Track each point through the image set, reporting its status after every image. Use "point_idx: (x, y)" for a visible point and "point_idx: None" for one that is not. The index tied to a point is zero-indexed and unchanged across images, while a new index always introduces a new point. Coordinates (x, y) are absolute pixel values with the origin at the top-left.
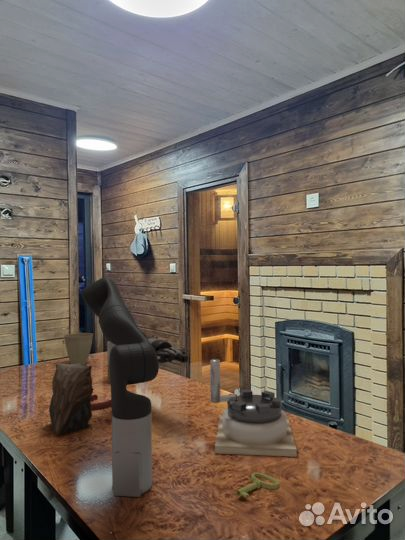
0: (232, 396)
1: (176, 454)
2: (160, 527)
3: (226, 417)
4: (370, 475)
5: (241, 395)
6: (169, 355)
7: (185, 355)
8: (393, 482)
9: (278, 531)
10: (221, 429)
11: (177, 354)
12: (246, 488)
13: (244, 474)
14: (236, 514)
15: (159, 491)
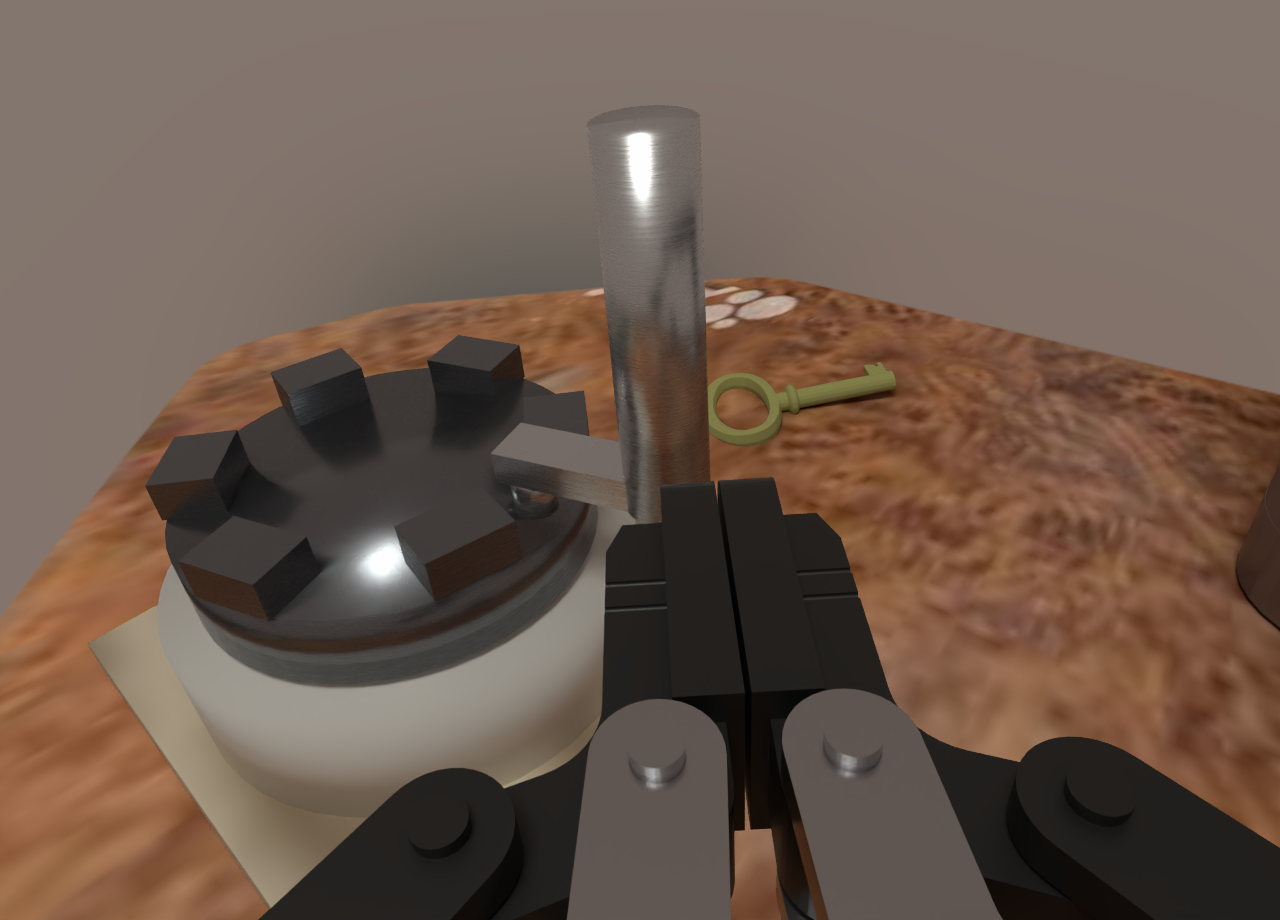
0: (541, 432)
1: (1021, 741)
2: (1214, 397)
3: (597, 584)
4: (434, 331)
5: (290, 594)
6: (1139, 788)
7: (700, 497)
8: (431, 304)
9: (870, 305)
10: (575, 753)
11: (823, 704)
12: (853, 378)
13: (775, 463)
14: (941, 361)
15: (1198, 519)
